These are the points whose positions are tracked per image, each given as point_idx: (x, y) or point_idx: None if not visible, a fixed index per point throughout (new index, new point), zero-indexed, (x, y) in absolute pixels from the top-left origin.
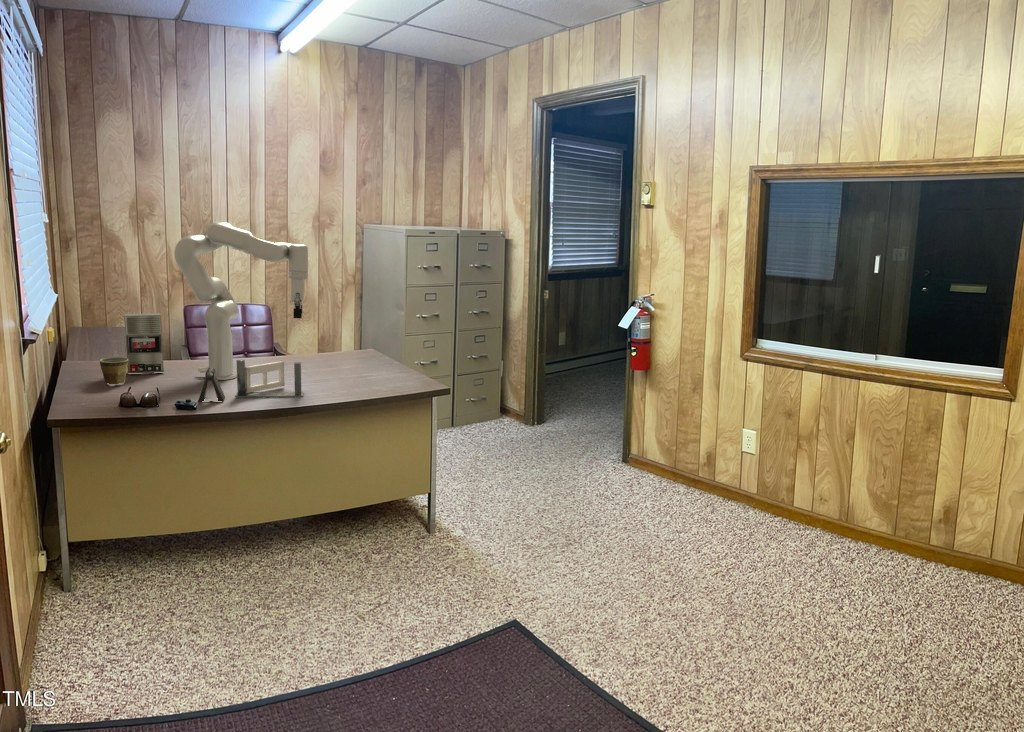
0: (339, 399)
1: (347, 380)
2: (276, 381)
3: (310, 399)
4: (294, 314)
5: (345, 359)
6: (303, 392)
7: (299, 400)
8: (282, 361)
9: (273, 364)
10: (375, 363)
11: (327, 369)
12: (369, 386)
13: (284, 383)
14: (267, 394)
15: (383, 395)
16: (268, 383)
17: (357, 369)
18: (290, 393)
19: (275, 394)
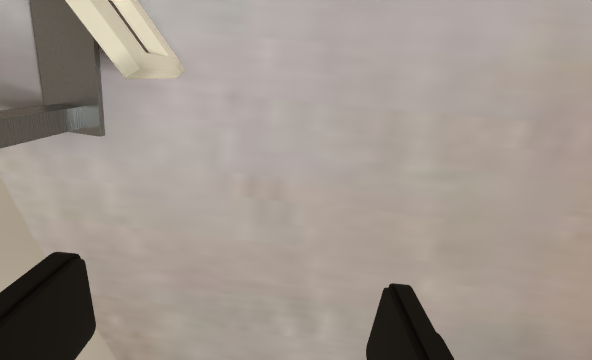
0: (42, 225)
1: (264, 270)
2: (159, 45)
3: (32, 147)
4: (15, 297)
5: (531, 297)
6: (89, 134)
7: None
8: (129, 70)
9: (82, 17)
10: None
11: (417, 236)
12: (189, 309)
13: (171, 77)
14: (49, 1)
15: None
16: (125, 8)
17: None
18: (71, 90)
19: (53, 33)
